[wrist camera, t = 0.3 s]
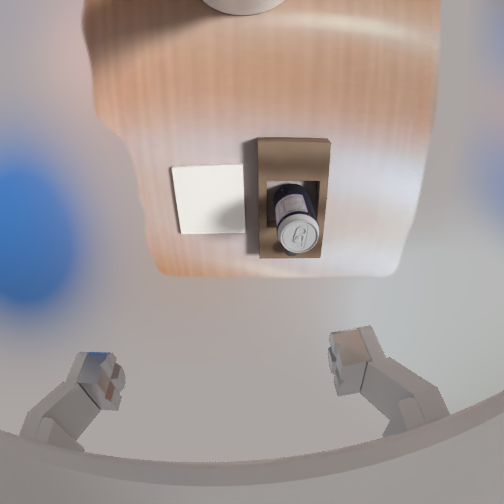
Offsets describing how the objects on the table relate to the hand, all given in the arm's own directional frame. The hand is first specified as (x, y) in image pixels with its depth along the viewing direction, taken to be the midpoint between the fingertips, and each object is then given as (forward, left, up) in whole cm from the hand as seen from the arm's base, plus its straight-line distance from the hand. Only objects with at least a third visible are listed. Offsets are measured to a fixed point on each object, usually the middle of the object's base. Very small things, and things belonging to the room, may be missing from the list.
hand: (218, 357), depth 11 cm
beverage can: (+12, +6, -39) cm, 42 cm away
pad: (+12, -7, -39) cm, 41 cm away
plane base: (+12, +6, -39) cm, 41 cm away
